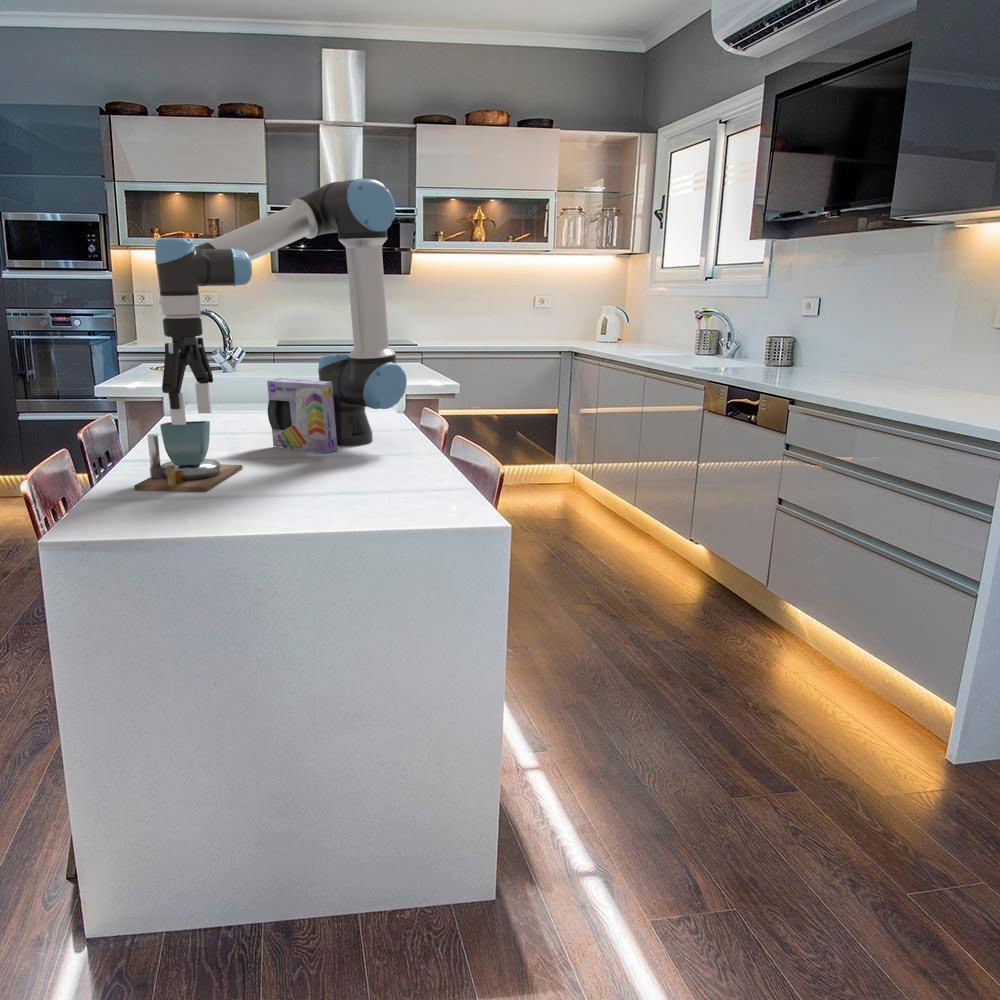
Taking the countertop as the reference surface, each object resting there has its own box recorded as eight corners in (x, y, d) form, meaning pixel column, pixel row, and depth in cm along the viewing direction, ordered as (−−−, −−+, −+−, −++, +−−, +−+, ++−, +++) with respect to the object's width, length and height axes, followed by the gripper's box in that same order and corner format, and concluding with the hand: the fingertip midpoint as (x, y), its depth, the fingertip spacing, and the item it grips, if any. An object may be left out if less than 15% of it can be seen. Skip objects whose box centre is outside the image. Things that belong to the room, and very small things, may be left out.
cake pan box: (268, 447, 218) (264, 378, 213) (282, 444, 222) (278, 376, 217) (325, 455, 208) (322, 383, 204) (338, 452, 213) (336, 381, 208)
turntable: (213, 465, 190) (210, 425, 188) (226, 477, 180) (223, 435, 177) (146, 471, 184) (142, 430, 181) (156, 484, 173) (151, 441, 170)
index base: (242, 469, 193) (241, 447, 191) (206, 491, 172) (204, 467, 171) (178, 467, 193) (176, 446, 192) (134, 490, 173) (132, 466, 172)
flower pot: (162, 467, 175) (159, 423, 173) (170, 463, 183) (167, 421, 182) (207, 465, 176) (204, 422, 175) (212, 462, 185) (210, 420, 184)
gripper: (188, 313, 187) (198, 408, 192) (135, 320, 163) (148, 429, 168) (222, 313, 186) (230, 408, 192) (173, 320, 162) (185, 429, 168)
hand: (192, 418), depth 180 cm, fingers open, 13 cm apart
